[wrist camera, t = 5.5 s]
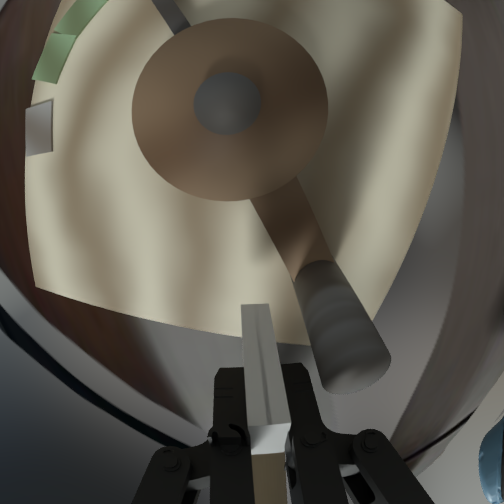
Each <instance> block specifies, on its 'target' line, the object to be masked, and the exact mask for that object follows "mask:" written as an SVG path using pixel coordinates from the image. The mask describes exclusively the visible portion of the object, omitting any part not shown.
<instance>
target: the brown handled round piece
mask: <svg viewBox="0 0 504 504" xmlns="http://www.w3.org/2000/svg"><path fill="white" fill-rule="evenodd" d="M151 1H152V2H153V4H154V5H155V7H156V8H157V10H158V11H159V13H160V14H161V16H162V17H163V19H164V20H165V22H166V23H167V25H168V26H169V28H170V29H171V31H172V33H173V34H174V36H173V37H171V38H170V39H169V40H167V41H166V42H165V43H164V44H163V45H161V46H160V47H159V48H158V50H157V51H156V52H155V53H154V54H153V55H152V56H151V58H150V59H149V60H148V62H147V63H146V65H145V66H144V68H143V70H142V72H141V74H140V76H139V78H138V81H137V83H136V86H135V90H134V94H133V99H132V110H131V111H132V125H133V130H134V135H135V138H136V140H137V143H138V146H139V148H140V150H141V152H142V154H143V156H144V157H145V159H146V160H147V162H148V163H149V165H150V166H151V167H152V168H153V169H154V170H155V171H156V172H157V174H158V175H160V176H161V177H162V178H163V179H164V180H165V181H167V182H168V183H169V184H171V185H173V186H174V187H176V188H177V189H179V190H181V191H183V192H185V193H188V194H190V195H193V196H196V197H199V198H203V199H208V200H213V201H241V200H247V199H250V201H251V203H252V205H253V206H254V208H255V210H256V212H257V214H258V216H259V217H260V219H261V221H262V223H263V225H264V227H265V229H266V230H267V232H268V234H269V236H270V238H271V240H272V242H273V243H274V245H275V247H276V249H277V251H278V253H279V255H280V256H281V258H282V260H283V262H284V264H285V266H286V268H287V270H288V272H289V273H290V277H291V280H292V283H293V287H294V290H295V293H296V297H297V300H298V303H299V306H300V310H301V313H302V316H303V320H304V323H305V327H306V330H307V333H308V337H309V340H310V344H311V347H312V351H313V354H314V358H315V361H316V365H317V369H318V372H319V376H320V379H321V383H322V386H323V388H324V389H325V390H326V391H327V392H329V393H332V394H350V393H354V392H357V391H360V390H363V389H365V388H367V387H369V386H371V385H372V384H374V383H375V382H376V381H377V380H379V379H380V378H381V377H382V376H383V375H384V374H385V373H386V371H387V370H388V368H389V366H390V363H391V355H390V353H389V351H388V349H387V348H386V346H385V344H384V342H383V340H382V338H381V337H380V335H379V333H378V331H377V329H376V328H375V326H374V324H373V322H372V321H371V319H370V317H369V315H368V314H367V312H366V310H365V308H364V307H363V305H362V303H361V302H360V300H359V298H358V297H357V295H356V293H355V292H354V290H353V288H352V287H351V285H350V283H349V282H348V280H347V278H346V277H345V275H344V274H343V272H342V270H341V269H340V267H339V266H338V264H337V263H336V261H335V259H334V258H333V256H332V255H331V253H330V250H329V248H328V246H327V243H326V241H325V238H324V236H323V234H322V231H321V229H320V227H319V224H318V222H317V220H316V218H315V215H314V213H313V211H312V209H311V206H310V204H309V202H308V200H307V198H306V195H305V193H304V191H303V189H302V187H301V185H300V183H299V180H298V178H297V175H298V174H299V173H300V172H301V171H302V170H303V169H304V168H305V167H306V165H307V164H308V163H309V162H310V160H311V159H312V158H313V156H314V155H315V153H316V151H317V150H318V148H319V146H320V143H321V141H322V139H323V136H324V133H325V129H326V125H327V119H328V97H327V90H326V86H325V83H324V79H323V77H322V74H321V72H320V70H319V68H318V66H317V64H316V63H315V61H314V60H313V58H312V57H311V55H310V54H309V53H308V52H307V51H306V50H305V48H304V47H303V46H302V45H301V44H299V43H298V42H297V41H296V40H295V39H294V38H292V37H291V36H289V35H288V34H286V33H285V32H283V31H281V30H279V29H277V28H275V27H273V26H271V25H268V24H265V23H262V22H259V21H255V20H249V19H241V18H222V19H215V20H210V21H205V22H202V23H199V24H196V25H193V26H191V25H190V23H189V22H188V20H187V19H186V17H185V16H184V15H183V13H182V12H181V10H180V9H179V7H178V6H177V4H176V3H175V2H174V0H151Z"/></svg>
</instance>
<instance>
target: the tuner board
mask: <svg viewBox="0 0 504 504" xmlns="http://www.w3.org/2000/svg"><path fill="white" fill-rule="evenodd" d="M174 2H175V3H176V4H177V6H178V7H179V9H180V10H181V12H182V13H183V15H184V16H185V17H186V19H187V20H188V22H189V23H190V25H191V26H193V25H196V24H199V23H202V22H205V21H210V20H215V19H222V18H241V19H249V20H255V21H259V22H262V23H265V24H268V25H271V26H273V27H275V28H277V29H279V30H281V31H283V32H285V33H286V34H288V35H289V36H291V37H292V38H294V39H295V40H296V41H297V42H298V43H299V44H301V45H302V46H303V47H304V48H305V50H306V51H307V52H308V53H309V54H310V55H311V57H312V58H313V60H314V61H315V63H316V64H317V66H318V68H319V70H320V72H321V74H322V77H323V79H324V83H325V86H326V90H327V97H328V119H327V125H326V129H325V133H324V136H323V139H322V141H321V143H320V146H319V148H318V150H317V151H316V153H315V155H314V156H313V158H312V159H311V160H310V162H309V163H308V164H307V165H306V167H305V168H304V169H303V170H302V171H301V172H300V173H299V174H298V175H297V178H298V180H299V183H300V185H301V187H302V189H303V191H304V193H305V195H306V198H307V200H308V202H309V204H310V206H311V209H312V211H313V213H314V215H315V218H316V220H317V222H318V224H319V227H320V229H321V231H322V234H323V236H324V238H325V241H326V243H327V246H328V248H329V250H330V253H331V255H332V256H333V258H334V259H335V261H336V263H337V264H338V266H339V267H340V269H341V270H342V272H343V274H344V275H345V277H346V278H347V280H348V282H349V283H350V285H351V287H352V288H353V290H354V292H355V293H356V295H357V297H358V298H359V300H360V302H361V303H362V305H363V307H364V308H365V310H366V312H367V314H368V315H369V317H370V319H371V321H372V320H373V318H374V316H375V315H376V313H377V311H378V309H379V307H380V306H381V304H382V302H383V300H384V298H385V296H386V295H387V293H388V291H389V289H390V287H391V285H392V283H393V281H394V278H395V277H396V275H397V273H398V270H399V268H400V266H401V264H402V262H403V260H404V258H405V255H406V253H407V251H408V249H409V246H410V244H411V242H412V239H413V237H414V235H415V232H416V230H417V227H418V225H419V222H420V219H421V217H422V215H423V212H424V209H425V206H426V204H427V201H428V198H429V195H430V192H431V189H432V186H433V183H434V180H435V177H436V174H437V171H438V167H439V164H440V161H441V157H442V153H443V149H444V146H445V142H446V138H447V134H448V130H449V125H450V121H451V116H452V111H453V106H454V101H455V95H456V89H457V82H458V75H459V66H460V56H461V43H462V14H461V13H460V12H459V11H457V10H456V9H455V8H454V7H452V6H451V5H450V4H448V3H447V2H446V1H444V0H174ZM173 36H174V34H173V33H172V31H171V29H170V28H169V26H168V25H167V23H166V22H165V20H164V19H163V17H162V16H161V14H160V13H159V11H158V10H157V8H156V7H155V5H154V4H153V2H152V1H151V0H62V1H61V3H60V5H59V8H58V10H57V13H56V15H55V18H54V20H53V23H52V26H51V28H50V31H49V34H48V37H47V40H46V43H45V47H44V50H43V52H42V55H41V57H40V59H39V62H38V64H37V67H36V69H35V72H34V75H33V77H32V79H34V80H36V81H35V86H34V91H33V96H32V102H31V108H28V109H26V159H25V204H26V220H27V232H28V241H29V249H30V256H31V262H32V268H33V274H34V279H35V284H36V287H39V288H42V289H44V290H47V291H50V292H53V293H56V294H59V295H62V296H65V297H68V298H72V299H75V300H78V301H81V302H85V303H88V304H91V305H95V306H98V307H102V308H106V309H109V310H113V311H117V312H120V313H124V314H128V315H132V316H136V317H140V318H144V319H149V320H153V321H157V322H162V323H166V324H171V325H176V326H181V327H186V328H191V329H196V330H201V331H207V332H212V333H218V334H224V335H230V336H236V337H242V326H241V304H266V303H269V308H270V313H271V318H272V323H273V329H274V334H275V339H276V342H280V343H289V344H298V345H308V346H311V344H310V340H309V337H308V333H307V330H306V327H305V323H304V320H303V316H302V313H301V310H300V306H299V303H298V300H297V297H296V293H295V290H294V287H293V283H292V280H291V277H290V273H289V272H288V270H287V268H286V266H285V264H284V262H283V260H282V258H281V256H280V255H279V253H278V251H277V249H276V247H275V245H274V243H273V242H272V240H271V238H270V236H269V234H268V232H267V230H266V229H265V227H264V225H263V223H262V221H261V219H260V217H259V216H258V214H257V212H256V210H255V208H254V206H253V205H252V203H251V201H250V199H247V200H241V201H213V200H208V199H203V198H199V197H196V196H193V195H190V194H188V193H185V192H183V191H181V190H179V189H177V188H176V187H174V186H173V185H171V184H169V183H168V182H167V181H165V180H164V179H163V178H162V177H161V176H160V175H158V174H157V172H156V171H155V170H154V169H153V168H152V167H151V166H150V165H149V163H148V162H147V160H146V159H145V157H144V156H143V154H142V152H141V150H140V148H139V146H138V143H137V140H136V138H135V135H134V130H133V125H132V111H131V110H132V99H133V94H134V90H135V86H136V83H137V81H138V78H139V76H140V74H141V72H142V70H143V68H144V66H145V65H146V63H147V62H148V60H149V59H150V58H151V56H152V55H153V54H154V53H155V52H156V51H157V50H158V48H159V47H160V46H161V45H163V44H164V43H165V42H166V41H167V40H169V39H170V38H171V37H173Z"/></svg>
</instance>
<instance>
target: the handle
mask: <svg viewBox="0 0 504 504" xmlns="http://www.w3.org/2000/svg"><path fill="white" fill-rule="evenodd" d="M251 456H252V470H253V483H254V495H255V504H287V489H286V470H284V465H285V450H284V452H280V453H270V454H255V455H251Z"/></svg>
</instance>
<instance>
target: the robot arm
mask: <svg viewBox="0 0 504 504" xmlns="http://www.w3.org/2000/svg"><path fill="white" fill-rule="evenodd" d="M241 326H242V350H243V367H236V368H220V369H219V370H218V372H217V374H216V376H215V378H214V407H213V427H212V428H211V429H210V430H209V433H208V436H207V438H208V440H207V441H206V442H204V443H203V444H200V445H198V446H194V447H190V448H186V449H180V448H178V447H173V446H167V447H162V448H160V449H159V450H157V451H156V452H155V453H154V455H153V456H152V458H151V461H150V463H149V465H148V467H147V469H146V472H145V474H144V476H143V478H142V481H141V483H140V485H139V487H138V490H137V492H136V494H135V497H134V499H133V501H132V503H131V504H196V503H197V500H198V497H199V494H200V491H201V489H204V488H208V487H210V504H255V495H254V483H253V470H252V456H251V455H255V454H270V453H280V452H284V450H285V454H286V462H285V465H284V470H287V477H288V482H289V489H290V496H291V502H292V504H349V503H348V499H347V495H346V492H345V490H346V491H347V493H348V495H349V496H350V498H351V500H352V501H353V503H354V504H434V502H433V501H432V500H431V498H430V497H429V495H428V494H427V492H426V491H425V490H424V488H423V487H422V486H421V484H420V483H419V482H418V480H417V479H416V477H415V476H414V475H413V473H412V472H411V471H410V469H409V468H408V466H407V465H406V464H405V462H404V461H403V460H402V458H401V457H400V455H399V454H398V453H397V451H396V450H395V449H394V447H393V446H392V444H391V443H390V442H389V440H388V439H387V438H386V436H385V435H384V434H383V433H382V432H380V431H378V430H375V429H366V430H363V431H361V432H360V433H358V434H357V435H352V434H340V433H335V432H333V431H331V430H329V429H328V428H327V427H326V426H325V425H324V424H323V422H322V420H321V416H320V413H319V409H318V405H317V401H316V398H315V394H314V391H313V387H312V383H311V379H310V376H309V372H308V370H307V369H306V368H305V367H304V366H303V364H302V363H291V364H280V360H279V355H278V349H277V344H276V339H275V334H274V329H273V323H272V318H271V313H270V308H269V303H266V304H241ZM479 476H480V481H481V486H482V489H483V492H484V495H485V497H486V499H487V500H488V501H489V502H490V503H492V504H499V503H502V502H504V416H503V418H502V419H501V420H500V421H499V422H498V423H497V424H496V425H495V426H494V427H493V428H492V429H491V430H490V431H489V432H488V433H487V434H486V435H485V437H484V439H483V441H482V443H481V446H480V451H479Z"/></svg>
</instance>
